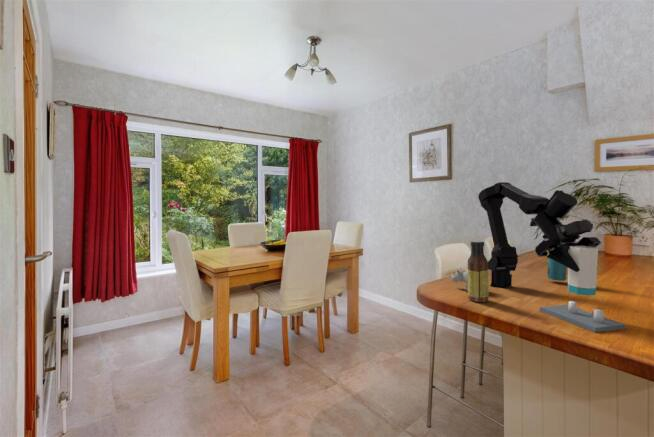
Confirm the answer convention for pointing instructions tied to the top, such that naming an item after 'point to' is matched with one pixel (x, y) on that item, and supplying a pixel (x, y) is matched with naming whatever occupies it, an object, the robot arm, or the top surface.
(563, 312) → the pin plate
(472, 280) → the sauce bottle
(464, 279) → the chubby cartoon animal
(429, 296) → the top surface
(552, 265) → the beverage bottle
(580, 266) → the vase
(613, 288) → the top surface
